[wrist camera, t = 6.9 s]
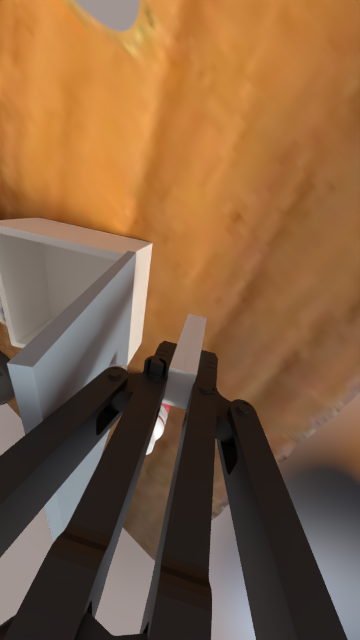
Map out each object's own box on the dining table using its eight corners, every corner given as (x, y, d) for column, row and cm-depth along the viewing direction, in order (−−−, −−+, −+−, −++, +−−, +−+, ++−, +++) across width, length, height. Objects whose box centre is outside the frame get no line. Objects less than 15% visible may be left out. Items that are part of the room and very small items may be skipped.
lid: (56, 553, 15) (85, 556, 15) (6, 363, 7) (71, 373, 7) (119, 379, 30) (134, 382, 30) (128, 250, 21) (148, 254, 22)
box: (51, 319, 38) (11, 345, 31) (39, 217, 30) (-18, 221, 23) (141, 342, 37) (121, 375, 30) (152, 242, 29) (129, 255, 22)
